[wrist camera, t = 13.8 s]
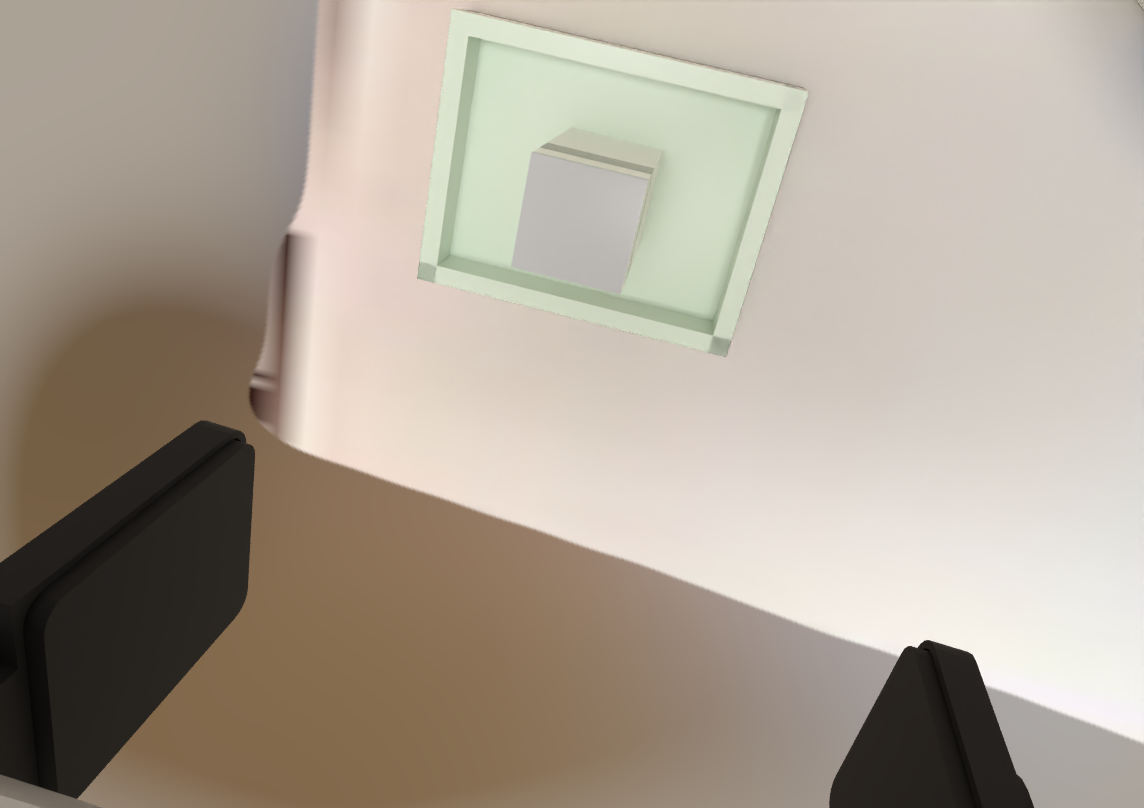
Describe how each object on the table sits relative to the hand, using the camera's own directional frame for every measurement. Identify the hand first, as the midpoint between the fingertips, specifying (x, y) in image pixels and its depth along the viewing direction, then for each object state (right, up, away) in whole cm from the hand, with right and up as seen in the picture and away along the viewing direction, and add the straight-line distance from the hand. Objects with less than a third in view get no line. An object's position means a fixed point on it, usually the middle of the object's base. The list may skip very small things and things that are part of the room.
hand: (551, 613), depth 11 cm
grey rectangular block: (+2, +12, +24) cm, 27 cm away
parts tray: (+2, +13, +24) cm, 28 cm away
